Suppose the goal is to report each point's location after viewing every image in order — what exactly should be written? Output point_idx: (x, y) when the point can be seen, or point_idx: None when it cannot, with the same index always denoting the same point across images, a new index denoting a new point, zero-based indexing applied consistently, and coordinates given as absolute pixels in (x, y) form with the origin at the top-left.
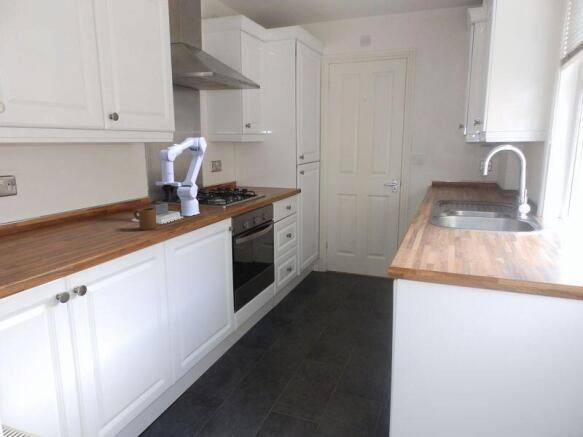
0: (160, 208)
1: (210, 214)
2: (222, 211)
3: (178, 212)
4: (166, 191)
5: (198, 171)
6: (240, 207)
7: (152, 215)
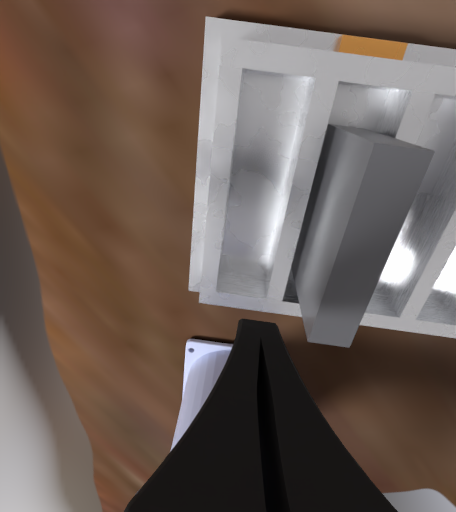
0: (332, 218)
1: (114, 393)
2: (113, 449)
3: (200, 289)
4: (256, 434)
5: None
6: (104, 508)
7: None
